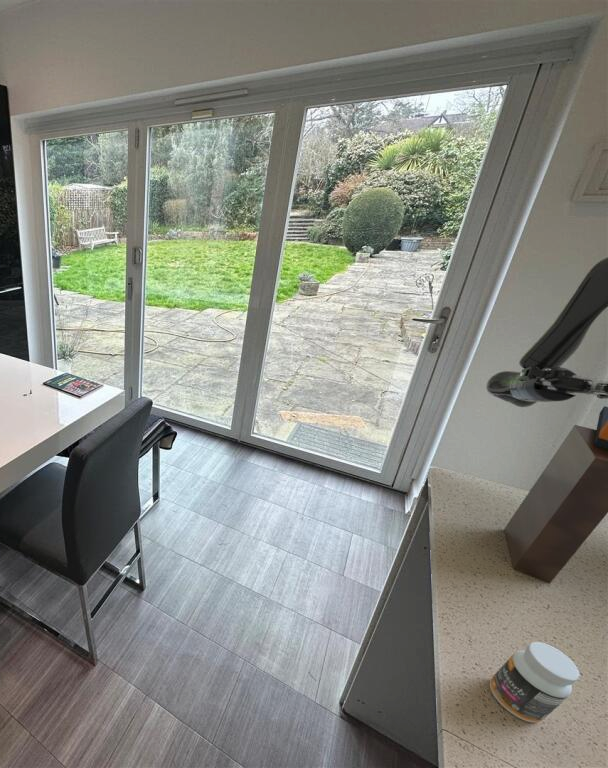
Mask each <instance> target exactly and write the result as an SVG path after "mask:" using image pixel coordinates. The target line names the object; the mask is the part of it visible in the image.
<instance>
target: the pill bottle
mask: <svg viewBox="0 0 608 768" xmlns="http://www.w3.org/2000/svg"><path fill="white" fill-rule="evenodd" d="M580 677H581V676H580V671H579V668H578V667H577V665H576V664H575V662H574V661H572V660H571V659H570V657H568V656H567V655H566V654H565V653H564V652H562V651H561V650H560V649H557V648H556V647H554V646H552V645H550V644H548V643H545V642H541V641H533V642H530V643H529V644H528V645H527V646H526V647H525V648H524V649H520V650H517V651H515V652H514V653H512V654H511V656H510V657H508V659H507V660H506V662H504V663H503V665H501V667H500V668H499V669H498V670H497V671H496V672H495V673H494V674H493V675H492V677H491V678H490V680H489V688H490V691H491V694H492V695H493V697H494V698H495V700H496V701H497V702H498V703H499V704H500V705H501V706H502V707H503V708H504V709H505V710H506V711H507V712H508V713H510V714H511V715H513V716H514V717H516V718H519V719H520V720H522V721H525V722H528V723H540V722H542V721H543V720H545V719H546V718H547V717H548V716H549V715H550V714H551V713H552V712H554V710H556V709H557V708H558V707H559V706H560V705H562V704H563V703H564V702H565V700H567V698H569V697H570V696H571V694H572V692H573V685H574V684H575V683H576V682H577V681H579V678H580Z"/></svg>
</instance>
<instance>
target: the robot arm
mask: <svg viewBox="0 0 608 768" xmlns="http://www.w3.org/2000/svg"><path fill="white" fill-rule="evenodd" d="M607 308H608V256H607V257H605V258H603V259H601V260H599V261H598V262H597V263H596V264H594V265H593V266H592V267H591V269H590V270H589V271H588V272H587V274H586V275H585V276H584V278H583V279H582V280H581V282H580V284H579V286H578V287H577V288H576V290H575V292H574V293H573V295H572V296H571V297H570V298H569V300H568V302H567V303H566V304H565V305H564V307H563V309H562V310H561V312H560V313H559V314H558V315H557V317H556V319H555V320H554V321H553V322H552V324H550V326H549V327H548V328H547V329H546V330H545V332H544V333H543V334H542V335H541V336H540V337H539V338H538V339H537V340H536V341H535V342H534V344H532V345H531V347H529V349H528V350H527V351H526V352H525V353H523V355H522V356H521V357H520V359H519V360H518V365H519V366H520V368H522V369H521V372H520V371H513V370H502V371H499V372H497V373H495V374H492V376H491V377H489V378H488V380H487V381H486V386H485V389H486V391H487V393H488V394H489V395H491V396H493V397H494V398H497V399H500V400H502V401H505V402H507V403H510V404H511V405H513V406H516V407H519V408H529V407H531V406H534V405H536V404H537V403H549V402H552V403H553V402H563V401H568V400H570V399H572V398H574V397H576V396H579V395H583V396H593V397H595V396H596V398H597V399H601V400H602V399H607V400H608V381H604V380H602V379H599V378H596V377H585V376H581V375H578V374H576V373H575V372H574V371H573V370H571V369H569V368H566V367H563V365H564V364H565V363H566V362H567V361H568V360H570V358H572V356H573V355H574V354H576V352H577V351H578V349H579V348H580V347H581V345H582V344H583V342H584V340H585V338H586V337H587V334H588V332H589V330H590V329H591V327H592V325H593V323H595V321H596V320H597V319H598V318H599V316H600V315H601V314H602V313H603V312H604V311H605V310H606V309H607Z"/></svg>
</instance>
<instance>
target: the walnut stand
mask: <svg viewBox="0 0 608 768" xmlns="http://www.w3.org/2000/svg"><path fill="white" fill-rule="evenodd" d="M595 434H596V429H594V428H590V427H586V426H582V425H577V424H574V425H573V427H572V428H571V429H570V431H569V432H568V434H567V435H566V437H565V438H564V440H563V441H562V443H560V446H559V447H558V449H557V450H556V452H555V453H554V454H553V456H552V458H551V459H550V460H549V462H548V464H547V465H546V467H545V468H544V469H543V471H542V472H541V474H540V475H539V477H538V478H537V480H536V481H535V483H534V484H533V485H532V487H531V488H530V490H529V492H528V493H527V494H526V496H525V497H524V499H523V500H522V502H521V503H520V505H519V506H518V507H517V509H516V510H515V512H514V514H513V515H512V516H511V518H510V520H509V521H508V522H507V524H506V526H505V527H504V529H503V531H504V535H505V540H506V543H507V548H508V552H509V556H510V560H511V565H512V569H513V570H515V571H517V572H520V573H523V574H525V575H528V576H529V577H531V578H532V577H533V578H535V579H538V580H540V581H543V582H546V583H548V584H551V583H552V582H553V580H554V579H555V578H556V577H557V576H558V575H559V573H560V572H561V571H562V569H563V568H564V567H565V566H566V565H567V563H568V562H569V561H570V560H571V558H572V557H573V556H574V555H575V554H576V552H577V551H578V550H580V549H579V548H580V547H581V546H582V545H583V544H584V543H585V541H587V539H588V538H589V536H591V534H592V533H593V531H594V530H595V529H596V528H597V527H598V525H599V524H600V523H601V522H602V521H603V519H604V518H605V517H606V516H607V515H608V450H607V449H604V448H601V447H598V446H595V445H593V444H594V439H595Z"/></svg>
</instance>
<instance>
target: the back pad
mask: <svg viewBox="0 0 608 768" xmlns="http://www.w3.org/2000/svg"><path fill="white" fill-rule="evenodd" d="M595 430H596V434H595V439H594V444H593V445H595V446H598V447H601V448H604V449H607V450H608V406H605V405H604V406H603V407H602V409H601V410H600V411H599V414H598V420H597V425H596V429H595Z"/></svg>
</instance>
